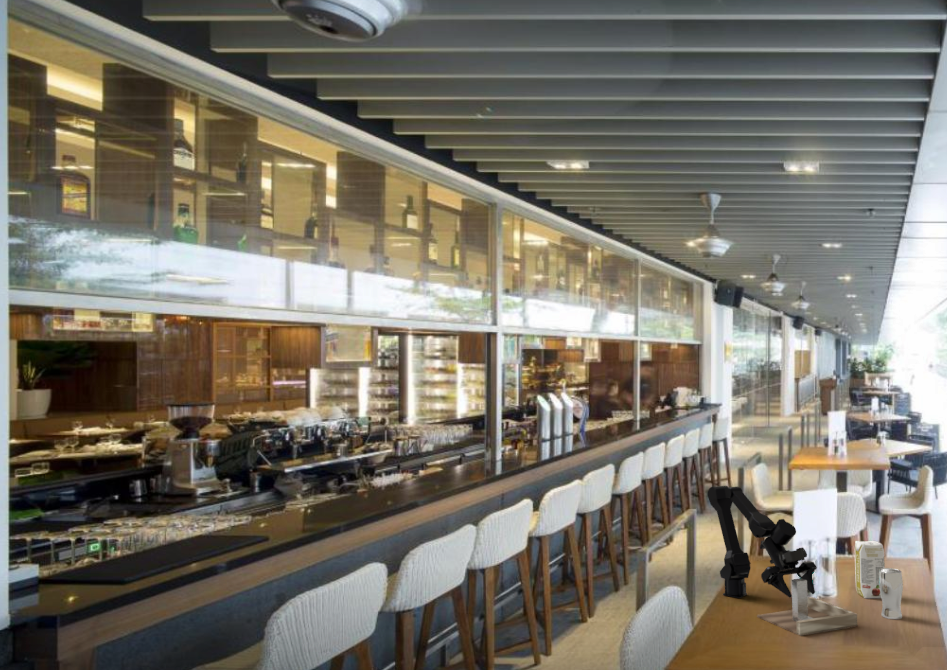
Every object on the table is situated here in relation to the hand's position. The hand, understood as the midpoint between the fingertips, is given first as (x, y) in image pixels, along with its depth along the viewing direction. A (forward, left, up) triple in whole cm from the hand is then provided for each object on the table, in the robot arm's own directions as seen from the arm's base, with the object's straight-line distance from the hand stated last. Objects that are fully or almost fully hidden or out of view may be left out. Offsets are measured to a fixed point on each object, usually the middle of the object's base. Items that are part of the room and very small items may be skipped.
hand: (802, 595), depth 264 cm
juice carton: (+8, +45, -9) cm, 46 cm away
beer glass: (+20, +25, -9) cm, 33 cm away
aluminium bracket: (0, 0, -8) cm, 8 cm away
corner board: (0, +3, -9) cm, 9 cm away
